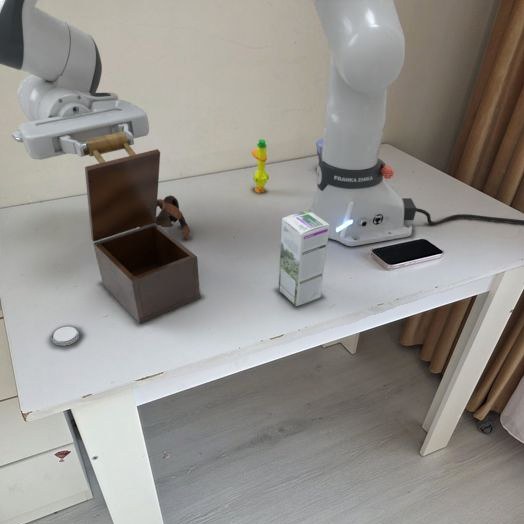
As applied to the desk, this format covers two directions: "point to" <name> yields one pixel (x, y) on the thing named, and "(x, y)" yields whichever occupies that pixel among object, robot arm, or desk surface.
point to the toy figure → (260, 166)
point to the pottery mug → (170, 215)
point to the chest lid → (120, 187)
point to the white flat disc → (65, 335)
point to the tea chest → (148, 271)
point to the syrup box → (302, 257)
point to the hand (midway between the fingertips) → (108, 145)
